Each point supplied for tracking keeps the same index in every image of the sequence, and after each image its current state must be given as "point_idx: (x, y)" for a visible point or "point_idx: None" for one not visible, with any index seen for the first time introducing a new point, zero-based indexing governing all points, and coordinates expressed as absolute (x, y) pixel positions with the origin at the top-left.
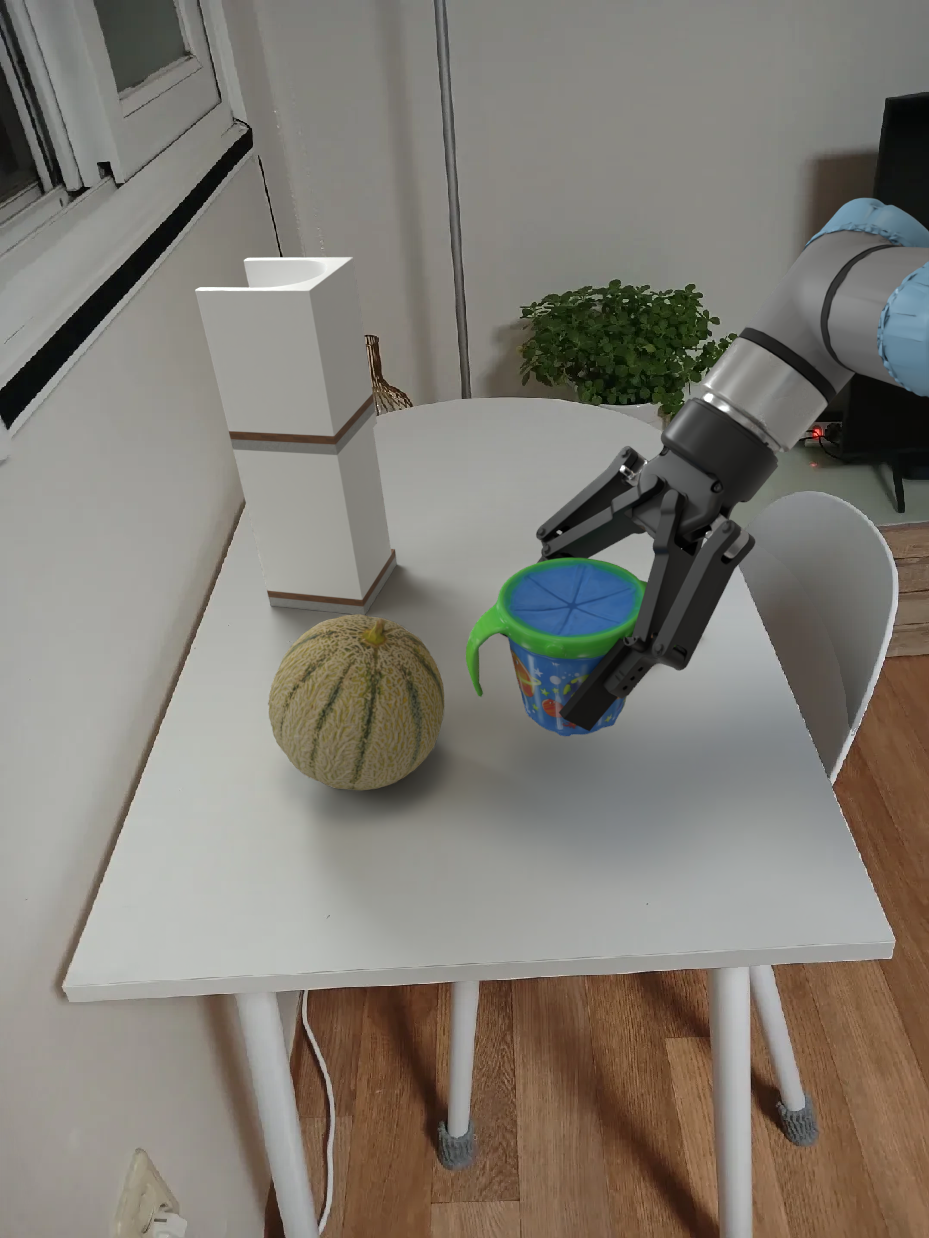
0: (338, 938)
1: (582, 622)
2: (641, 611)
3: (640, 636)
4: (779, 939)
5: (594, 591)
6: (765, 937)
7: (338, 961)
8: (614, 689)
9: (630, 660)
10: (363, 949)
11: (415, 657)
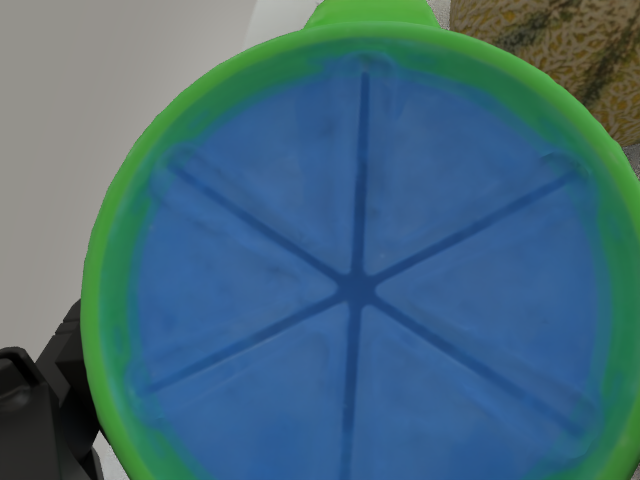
0: (285, 11)
1: (231, 278)
2: (42, 470)
3: (10, 414)
4: (105, 470)
5: (398, 397)
6: (113, 455)
7: (258, 9)
8: (75, 304)
9: (54, 364)
10: (263, 34)
11: (618, 32)
